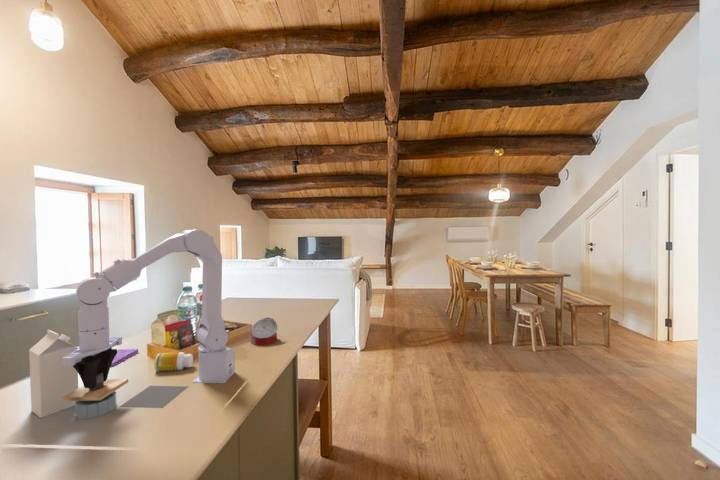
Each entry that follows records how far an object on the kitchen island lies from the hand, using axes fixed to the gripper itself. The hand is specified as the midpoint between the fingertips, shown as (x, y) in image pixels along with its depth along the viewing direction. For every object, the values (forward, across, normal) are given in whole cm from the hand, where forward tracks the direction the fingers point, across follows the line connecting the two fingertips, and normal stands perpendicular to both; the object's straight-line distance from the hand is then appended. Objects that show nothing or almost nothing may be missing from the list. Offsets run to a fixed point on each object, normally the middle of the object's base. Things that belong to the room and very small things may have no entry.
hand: (96, 384), depth 80 cm
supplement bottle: (+4, -23, -1) cm, 23 cm away
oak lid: (+2, 0, 0) cm, 2 cm away
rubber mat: (+7, -7, +10) cm, 14 cm away
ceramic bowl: (+7, 0, 0) cm, 7 cm away
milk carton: (+7, -1, -12) cm, 13 cm away
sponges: (+8, -32, -21) cm, 39 cm away
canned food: (+7, -52, +23) cm, 57 cm away
